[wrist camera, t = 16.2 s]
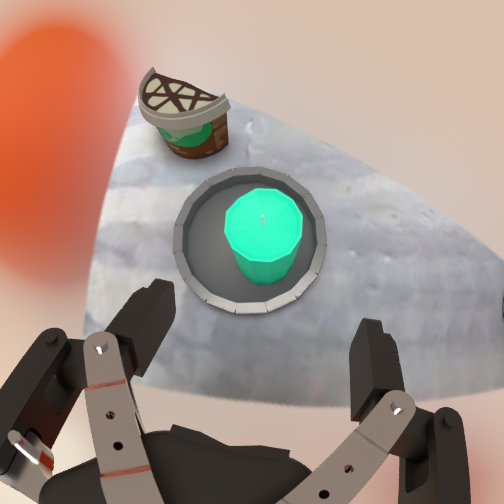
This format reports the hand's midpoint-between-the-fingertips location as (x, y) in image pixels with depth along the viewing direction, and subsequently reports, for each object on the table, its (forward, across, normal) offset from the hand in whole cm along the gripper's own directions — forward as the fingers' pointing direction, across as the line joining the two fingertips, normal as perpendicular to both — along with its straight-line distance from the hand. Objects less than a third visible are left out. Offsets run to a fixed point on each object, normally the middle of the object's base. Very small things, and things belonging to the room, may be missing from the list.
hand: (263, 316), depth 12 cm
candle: (+19, +2, +9) cm, 21 cm away
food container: (+29, +15, 0) cm, 32 cm away
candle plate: (+20, +4, +8) cm, 22 cm away
